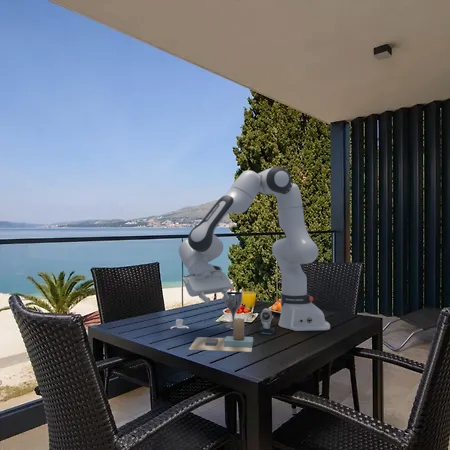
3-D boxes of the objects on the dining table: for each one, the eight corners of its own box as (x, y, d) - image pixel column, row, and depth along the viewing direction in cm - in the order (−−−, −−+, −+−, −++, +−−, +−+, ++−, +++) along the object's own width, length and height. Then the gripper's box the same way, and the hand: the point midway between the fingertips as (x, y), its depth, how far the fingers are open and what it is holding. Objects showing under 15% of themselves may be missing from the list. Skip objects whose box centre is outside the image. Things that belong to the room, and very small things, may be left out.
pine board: (253, 342, 145) (253, 338, 145) (251, 356, 130) (251, 351, 130) (196, 340, 148) (196, 337, 148) (188, 353, 133) (188, 349, 133)
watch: (258, 338, 151) (258, 310, 151) (261, 333, 159) (261, 306, 159) (273, 339, 149) (272, 311, 150) (274, 333, 157) (274, 307, 157)
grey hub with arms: (185, 332, 161) (185, 322, 161) (167, 331, 163) (167, 322, 163) (191, 327, 170) (191, 318, 170) (174, 326, 172) (174, 317, 172)
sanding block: (253, 342, 141) (252, 318, 141) (252, 347, 135) (252, 322, 135) (226, 341, 142) (226, 317, 142) (224, 346, 136) (224, 321, 136)
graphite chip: (218, 341, 142) (218, 339, 142) (216, 345, 137) (216, 343, 137) (207, 341, 142) (207, 338, 142) (205, 345, 137) (205, 342, 137)
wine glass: (232, 330, 163) (232, 295, 163) (220, 326, 169) (220, 292, 169) (246, 327, 168) (245, 293, 168) (234, 323, 174) (234, 290, 174)
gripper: (184, 270, 145) (200, 299, 138) (223, 266, 159) (240, 292, 152) (177, 281, 148) (193, 310, 141) (216, 276, 162) (232, 302, 155)
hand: (217, 301), depth 147 cm, fingers open, 8 cm apart
